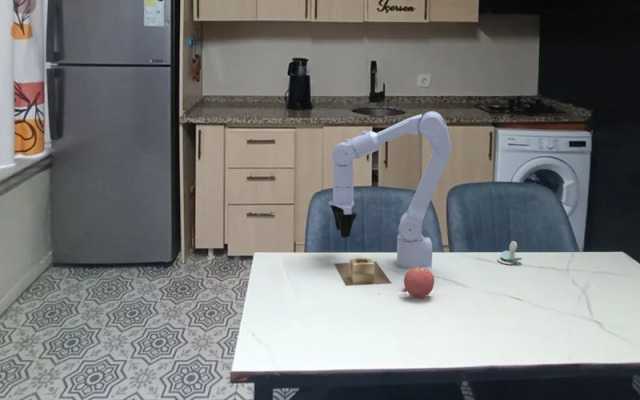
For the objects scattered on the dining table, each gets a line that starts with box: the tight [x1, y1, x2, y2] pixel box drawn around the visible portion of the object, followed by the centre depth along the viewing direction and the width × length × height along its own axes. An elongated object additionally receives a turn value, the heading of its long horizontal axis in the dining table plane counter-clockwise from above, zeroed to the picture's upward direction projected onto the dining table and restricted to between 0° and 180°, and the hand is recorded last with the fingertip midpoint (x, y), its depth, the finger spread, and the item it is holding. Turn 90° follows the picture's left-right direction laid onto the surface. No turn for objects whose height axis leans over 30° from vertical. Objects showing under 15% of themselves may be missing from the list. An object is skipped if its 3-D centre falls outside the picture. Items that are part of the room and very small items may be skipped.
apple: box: [403, 266, 435, 299], centre depth 168 cm, size 7×7×8 cm
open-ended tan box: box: [349, 257, 374, 283], centre depth 176 cm, size 5×5×5 cm
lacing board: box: [333, 261, 392, 287], centre depth 181 cm, size 12×18×6 cm, turn 8°
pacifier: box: [497, 240, 523, 265], centre depth 195 cm, size 7×6×6 cm
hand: (342, 233), depth 191 cm, fingers open, 7 cm apart
